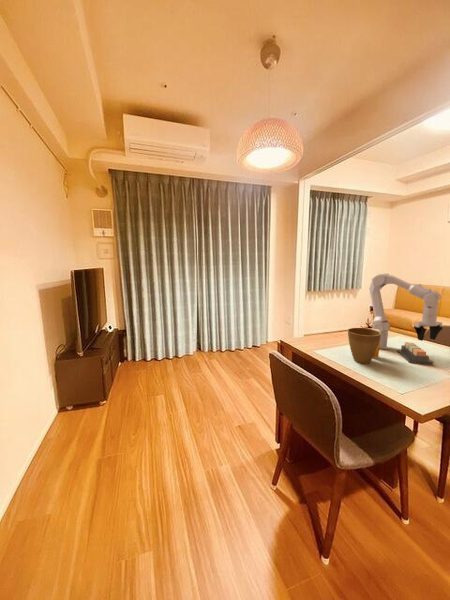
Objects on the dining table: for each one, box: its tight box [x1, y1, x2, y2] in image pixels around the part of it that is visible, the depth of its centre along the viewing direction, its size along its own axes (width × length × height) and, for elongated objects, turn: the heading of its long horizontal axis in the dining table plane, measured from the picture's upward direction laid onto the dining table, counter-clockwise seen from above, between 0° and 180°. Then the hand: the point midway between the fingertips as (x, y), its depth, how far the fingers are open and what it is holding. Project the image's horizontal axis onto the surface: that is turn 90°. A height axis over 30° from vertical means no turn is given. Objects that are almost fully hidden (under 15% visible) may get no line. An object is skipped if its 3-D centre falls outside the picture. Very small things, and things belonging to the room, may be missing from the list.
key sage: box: [408, 345, 422, 352], centre depth 130 cm, size 4×4×3 cm
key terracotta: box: [413, 348, 427, 357], centre depth 125 cm, size 4×4×3 cm
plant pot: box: [347, 327, 381, 365], centre depth 126 cm, size 15×15×16 cm
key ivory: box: [404, 342, 418, 349], centre depth 135 cm, size 4×4×3 cm
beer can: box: [371, 328, 381, 359], centre depth 132 cm, size 6×6×15 cm
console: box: [396, 344, 434, 366], centre depth 131 cm, size 10×16×4 cm, turn 164°
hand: (426, 339), depth 129 cm, fingers open, 7 cm apart
